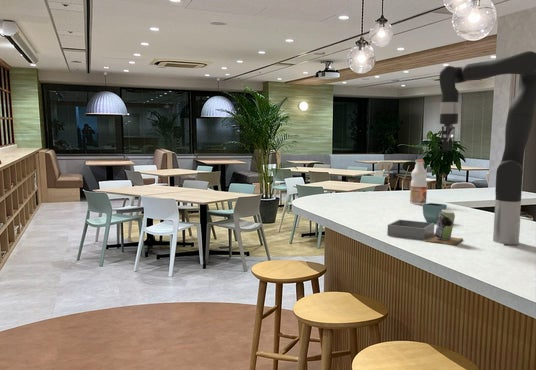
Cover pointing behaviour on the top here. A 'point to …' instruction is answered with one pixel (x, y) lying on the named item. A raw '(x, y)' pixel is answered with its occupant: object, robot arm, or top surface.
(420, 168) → the fruit juice
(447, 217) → the beverage can
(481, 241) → the top surface
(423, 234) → the bin
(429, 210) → the flower pot
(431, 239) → the pad
